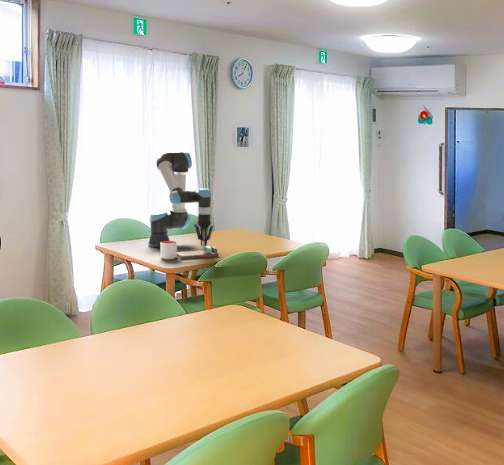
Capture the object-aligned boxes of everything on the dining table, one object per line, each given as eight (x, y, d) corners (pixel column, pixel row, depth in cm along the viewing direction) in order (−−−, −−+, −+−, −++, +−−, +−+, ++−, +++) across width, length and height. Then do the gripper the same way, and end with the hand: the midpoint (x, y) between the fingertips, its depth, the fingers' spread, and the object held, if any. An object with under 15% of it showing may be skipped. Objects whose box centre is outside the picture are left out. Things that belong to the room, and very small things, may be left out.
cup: (173, 260, 378) (173, 243, 377) (158, 259, 380) (158, 243, 379) (179, 256, 388) (178, 241, 387) (163, 256, 390) (163, 240, 388)
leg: (203, 249, 399) (203, 244, 398) (208, 249, 400) (208, 244, 399) (206, 253, 387) (206, 247, 387) (211, 252, 388) (211, 247, 387)
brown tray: (175, 255, 393) (174, 247, 393) (211, 252, 402) (211, 244, 401) (181, 259, 380) (181, 251, 379) (218, 256, 389) (218, 248, 388)
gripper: (192, 213, 385) (192, 251, 389) (211, 215, 381) (211, 252, 385) (197, 212, 392) (196, 249, 396) (216, 213, 388) (215, 250, 392)
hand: (203, 250), depth 390 cm, fingers closed
